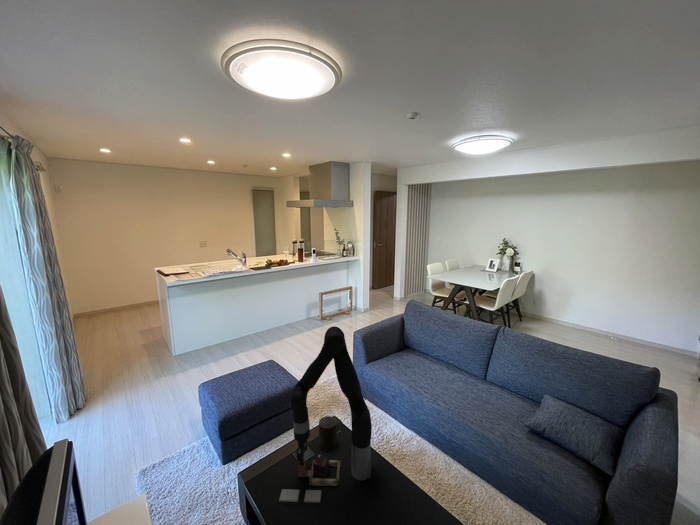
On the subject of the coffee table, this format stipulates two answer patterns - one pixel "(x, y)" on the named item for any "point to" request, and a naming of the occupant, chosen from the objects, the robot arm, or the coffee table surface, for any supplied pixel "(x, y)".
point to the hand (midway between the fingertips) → (303, 457)
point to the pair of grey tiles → (293, 495)
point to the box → (321, 467)
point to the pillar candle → (327, 433)
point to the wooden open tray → (319, 481)
